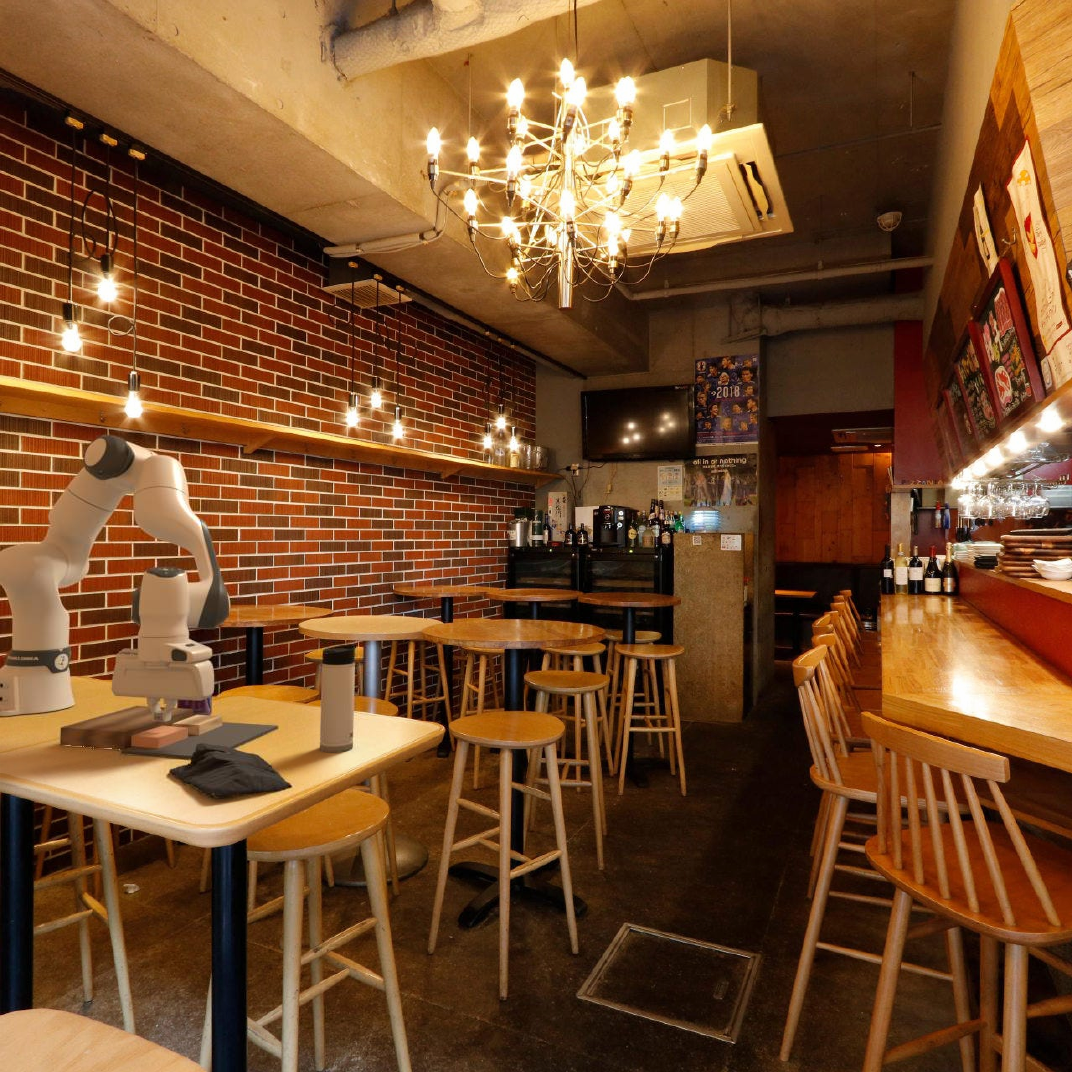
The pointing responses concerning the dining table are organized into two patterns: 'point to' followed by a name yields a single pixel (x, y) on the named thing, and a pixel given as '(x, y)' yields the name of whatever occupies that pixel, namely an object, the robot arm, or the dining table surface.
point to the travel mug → (337, 698)
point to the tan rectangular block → (200, 723)
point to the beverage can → (197, 706)
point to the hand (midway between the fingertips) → (161, 720)
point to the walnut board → (116, 727)
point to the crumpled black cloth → (228, 772)
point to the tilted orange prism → (159, 737)
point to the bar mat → (206, 740)
